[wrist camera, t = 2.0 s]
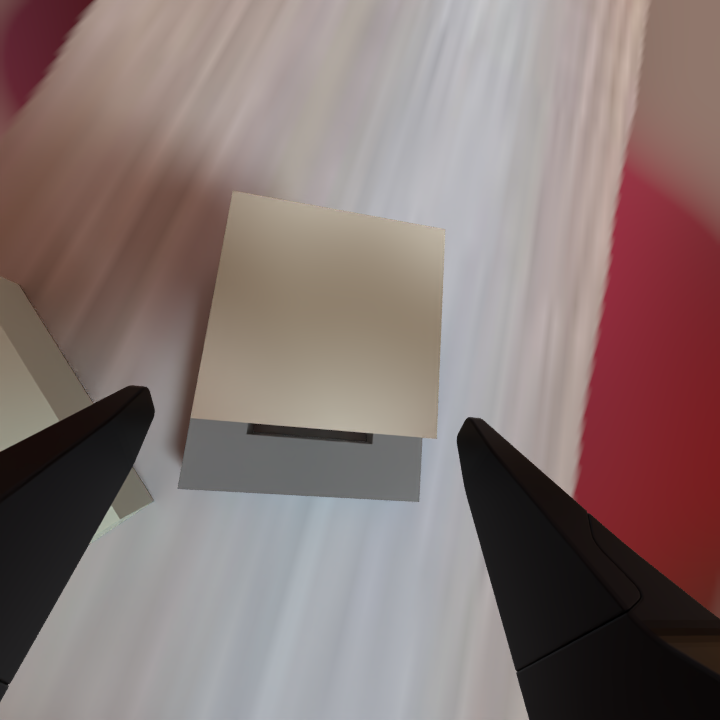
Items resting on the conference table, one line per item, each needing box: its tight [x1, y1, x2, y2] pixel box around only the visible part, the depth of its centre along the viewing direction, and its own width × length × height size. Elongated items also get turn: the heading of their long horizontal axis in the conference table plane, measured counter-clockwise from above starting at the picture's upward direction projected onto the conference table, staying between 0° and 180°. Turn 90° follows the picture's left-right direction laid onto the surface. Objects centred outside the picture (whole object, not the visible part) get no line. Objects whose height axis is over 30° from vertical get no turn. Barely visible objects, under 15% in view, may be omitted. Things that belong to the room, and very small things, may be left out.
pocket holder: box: [177, 418, 422, 502], centre depth 18 cm, size 12×12×2 cm
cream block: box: [191, 191, 445, 439], centre depth 12 cm, size 4×4×13 cm
